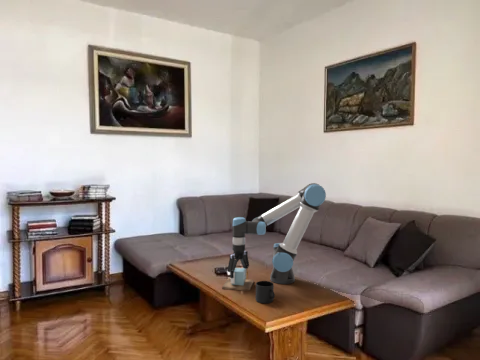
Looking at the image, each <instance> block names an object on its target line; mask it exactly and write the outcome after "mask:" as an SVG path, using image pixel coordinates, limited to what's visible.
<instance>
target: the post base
mask: <svg viewBox="0 0 480 360" xmlns="http://www.w3.org/2000/svg"><path fill="white" fill-rule="evenodd" d="M254 282H255V279H247V278H246V280H245V283H244V285H232V283H231V278H230V277H229V278H227V279H226V281H224V283H223V285H222V287H221V290H232V291H245V292H246V291H247V292H250V291H251V290H252V289H251V288H252V287H253V285H254Z"/></svg>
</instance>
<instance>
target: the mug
mask: <svg viewBox="0 0 480 360" xmlns="http://www.w3.org/2000/svg"><path fill="white" fill-rule="evenodd" d="M274 284H275V283H274V282H272V281H268V280H261V281H257V282H256V283H255V301H256V302H257V303H259V304H271V303H273V302H274V299H275V296H276V295H275V294H276V293H275V292H274V288H275V287H274Z"/></svg>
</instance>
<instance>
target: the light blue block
mask: <svg viewBox="0 0 480 360" xmlns="http://www.w3.org/2000/svg"><path fill="white" fill-rule="evenodd" d="M234 272H235V284H233V283H232V285H244V283H245V268H243V267H242V268H241V267H235V270H234Z"/></svg>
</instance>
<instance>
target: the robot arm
mask: <svg viewBox="0 0 480 360" xmlns="http://www.w3.org/2000/svg"><path fill="white" fill-rule="evenodd" d="M326 196H327V194H326V190H325V188H324V187H323V186H322V185H320V184H318V183H316V182H313V183H312V182H311V183H309V184H307V185H306V186H305V187H303V188H302V189H300V190H299V191H297V192H296V194H295V195H293V196H292V197H289V198H288V199H287V200H285V201H283V202H281V203H279V204H278V205H276V206H274V207H273V208H270V209H269V210H267V211H266V212H264V213H262V214H260V215H259V216H257V217H255V218H253V219H252V220H251V221H249V220H248V221H247V220H246V218H245V217H242V216H238V217H234V218H233V219H232V245H231V246H232V247H231V249H232V251H233V253H232V254H229V261H228V266H227V272H229V278H231V283H233V284H235V272H234V270H235V268H237V265H238V262H239V261H240V263H241V265H242V268H245V280H246V279H247V272H248V269H249V267H250V263H249V257H248V255H249V254H248V250H246V235H256V236H257V235H258V236H261V235H263V236H264V235H265V234H266V233H267V232H266V231H267V229H266V227H267V226H269V225H271V224H273V223H275V222H276V221H278V220H280V219H281V218H283V217H285V216H286V215H289V214H290V213H292V212H293V211H295V210H297V209H298V210H297V212H296V215H295V217H294V218H293V221H292V223H291V225H290V227H289V230H288V232H287V234H286V236H285V238H284V239H283V242H277V243H274V244H273V256H272V260H271V261H272V266H273V267H272V270H271V273H270V276H269V277H270V278H269V279H270V282H272V283H273V284H279V285H289V284H293V283H295V281H296V277H295V273H294V269H293V266H294V261H295V260H296V258H297V255H298V250H297V249H298V247H299V245H300V242H301V241H302V239H303V237H304V234H305V233H306V231H307V229H308V227H309V224H310V222H311V220H312V218H313V216H314V214H315V213H317V212H319V210H320V208H321V206H322V204H323V203H324V202H325V200H326V198H327V197H326Z"/></svg>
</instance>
